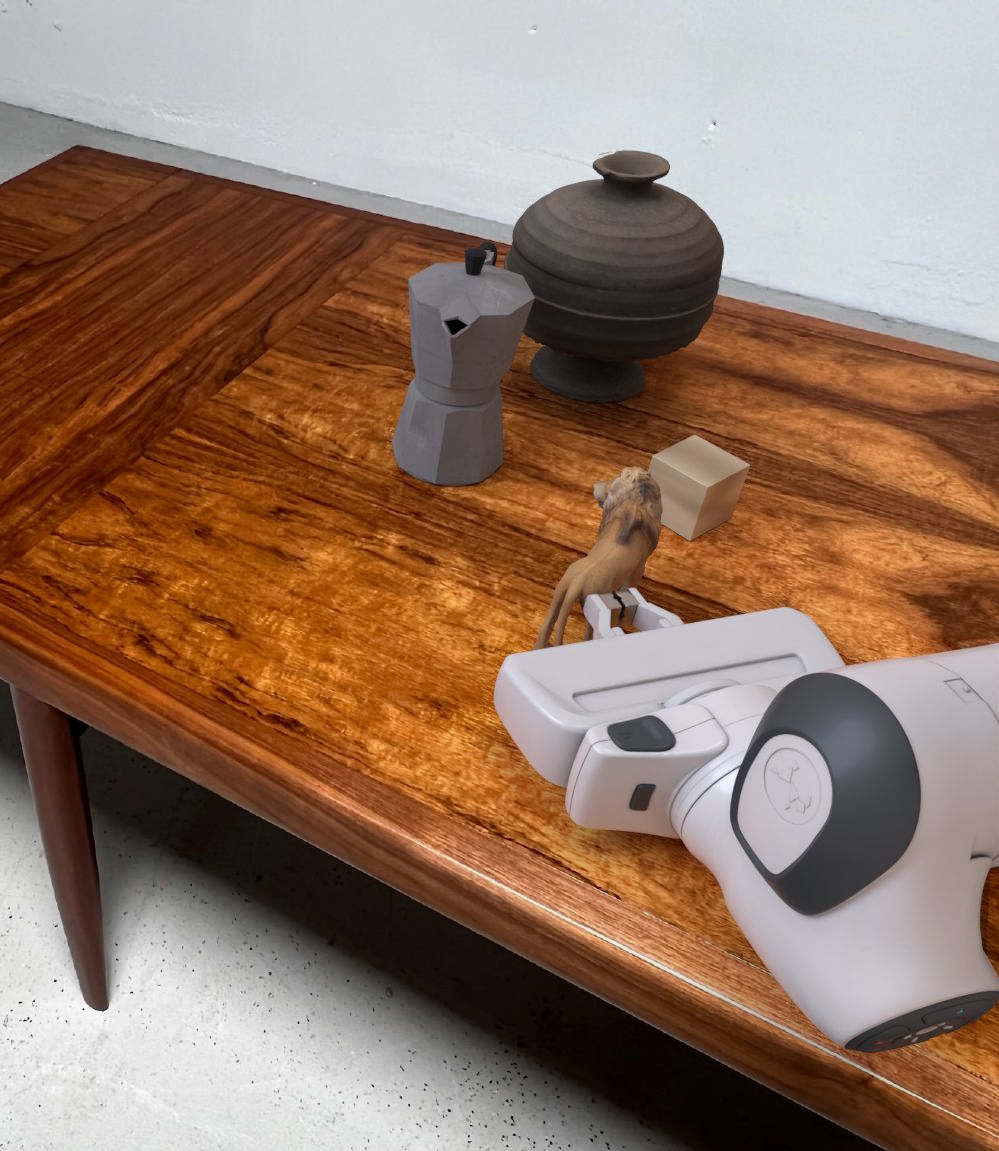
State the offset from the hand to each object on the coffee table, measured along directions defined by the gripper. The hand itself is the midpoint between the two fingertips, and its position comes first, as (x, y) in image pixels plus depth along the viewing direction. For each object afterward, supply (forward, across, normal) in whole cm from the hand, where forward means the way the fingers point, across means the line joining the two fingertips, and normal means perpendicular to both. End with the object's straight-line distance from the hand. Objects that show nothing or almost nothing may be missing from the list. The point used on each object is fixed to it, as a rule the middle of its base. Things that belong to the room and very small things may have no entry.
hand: (607, 598), depth 72 cm
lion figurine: (+4, -2, +5) cm, 7 cm away
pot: (+34, -17, +5) cm, 38 cm away
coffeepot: (+25, 0, +5) cm, 26 cm away
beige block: (+13, -14, +5) cm, 20 cm away
